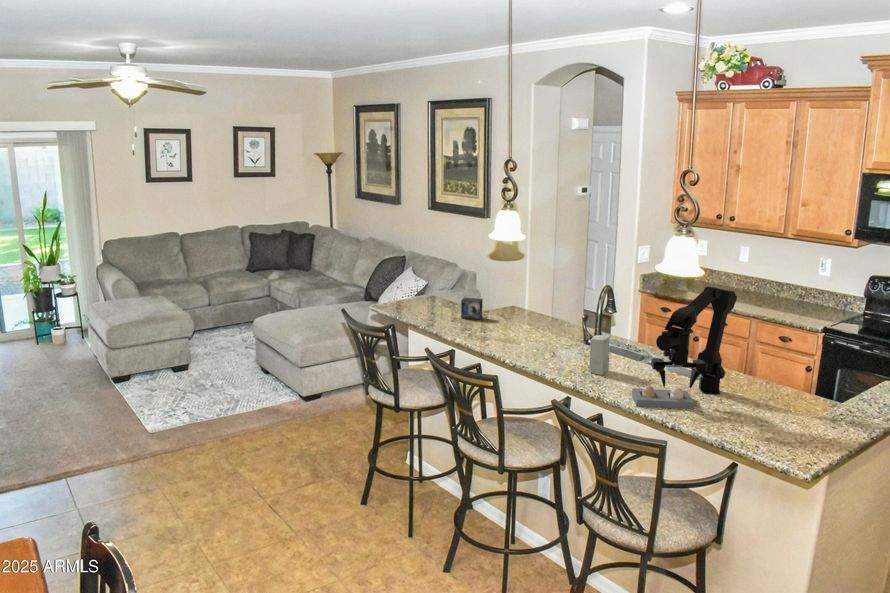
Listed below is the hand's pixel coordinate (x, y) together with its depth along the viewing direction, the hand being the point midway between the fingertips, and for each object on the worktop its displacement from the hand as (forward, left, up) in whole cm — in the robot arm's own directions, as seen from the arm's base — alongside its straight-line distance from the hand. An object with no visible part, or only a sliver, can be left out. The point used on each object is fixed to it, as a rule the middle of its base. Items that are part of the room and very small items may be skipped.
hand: (677, 387), depth 255 cm
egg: (0, 0, -6) cm, 6 cm away
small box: (+85, -114, -6) cm, 142 cm away
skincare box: (+25, -32, -6) cm, 41 cm away
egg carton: (+5, 0, -6) cm, 8 cm away
